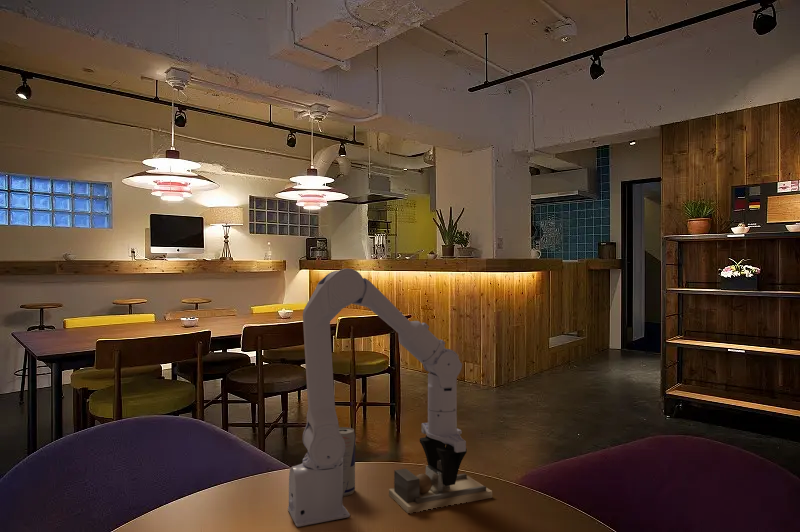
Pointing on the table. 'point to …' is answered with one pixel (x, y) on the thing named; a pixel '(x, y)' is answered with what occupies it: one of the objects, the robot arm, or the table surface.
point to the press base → (416, 502)
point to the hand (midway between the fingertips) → (442, 479)
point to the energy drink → (348, 460)
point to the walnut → (424, 483)
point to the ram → (437, 478)
